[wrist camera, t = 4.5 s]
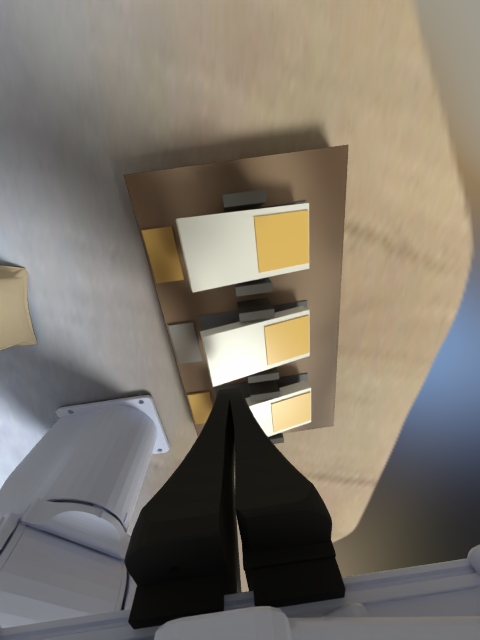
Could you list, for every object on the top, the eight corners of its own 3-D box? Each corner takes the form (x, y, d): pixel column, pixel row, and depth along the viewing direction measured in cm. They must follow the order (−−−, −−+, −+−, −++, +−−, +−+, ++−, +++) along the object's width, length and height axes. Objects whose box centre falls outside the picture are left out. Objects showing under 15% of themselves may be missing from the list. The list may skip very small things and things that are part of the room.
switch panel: (202, 429, 25) (197, 471, 20) (135, 181, 15) (101, 163, 11) (325, 411, 25) (346, 448, 21) (333, 154, 16) (374, 126, 11)
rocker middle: (210, 378, 17) (213, 387, 16) (200, 331, 15) (202, 337, 14) (302, 350, 19) (310, 356, 18) (301, 305, 17) (310, 309, 16)
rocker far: (224, 441, 20) (226, 452, 19) (216, 406, 18) (219, 416, 17) (305, 414, 21) (311, 422, 20) (304, 380, 20) (311, 388, 19)
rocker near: (190, 288, 14) (192, 292, 13) (175, 219, 12) (176, 218, 11) (301, 266, 16) (310, 268, 15) (299, 205, 14) (310, 202, 13)
